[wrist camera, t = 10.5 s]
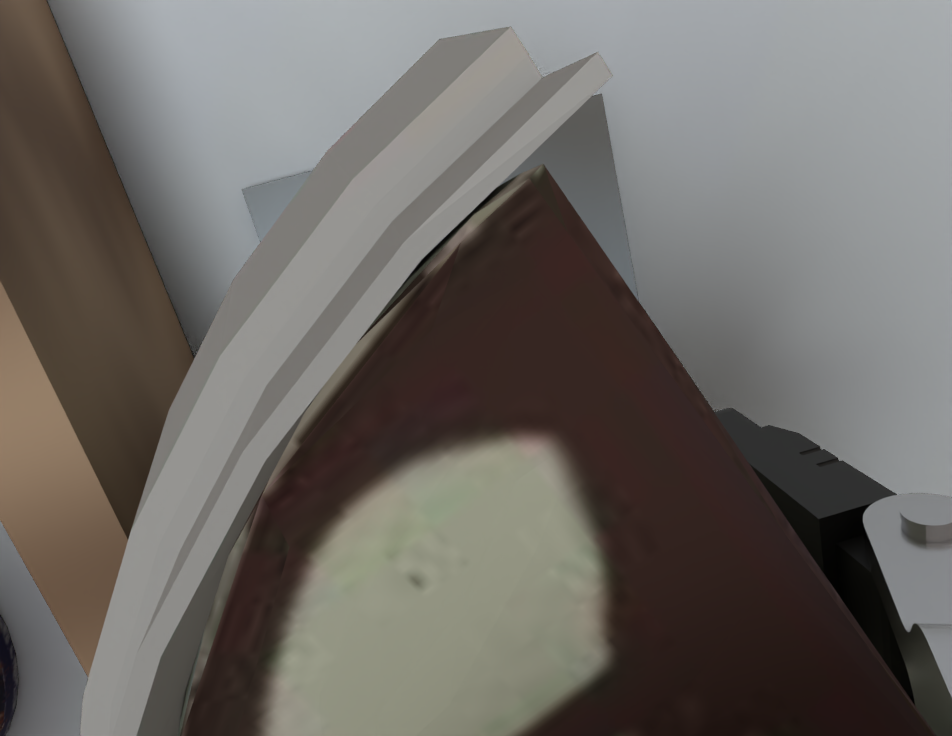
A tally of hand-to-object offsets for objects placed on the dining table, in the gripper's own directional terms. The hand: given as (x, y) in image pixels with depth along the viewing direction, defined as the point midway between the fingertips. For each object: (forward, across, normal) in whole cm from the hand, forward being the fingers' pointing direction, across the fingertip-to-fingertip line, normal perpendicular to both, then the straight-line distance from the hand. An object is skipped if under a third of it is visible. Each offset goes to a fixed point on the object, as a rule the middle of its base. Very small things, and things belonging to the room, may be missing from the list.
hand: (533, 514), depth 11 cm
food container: (+3, +1, 0) cm, 3 cm away
